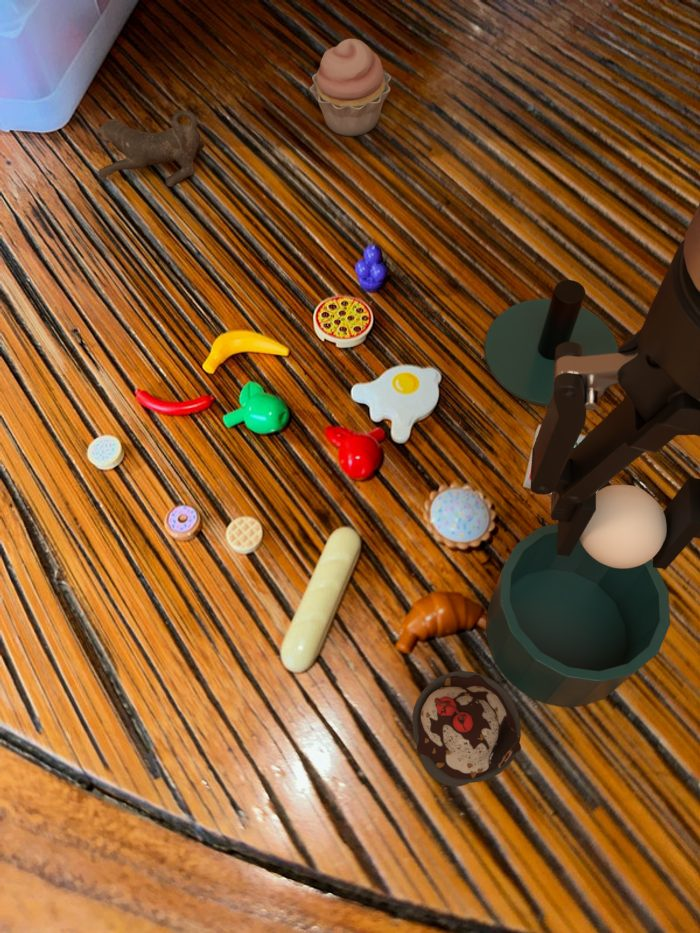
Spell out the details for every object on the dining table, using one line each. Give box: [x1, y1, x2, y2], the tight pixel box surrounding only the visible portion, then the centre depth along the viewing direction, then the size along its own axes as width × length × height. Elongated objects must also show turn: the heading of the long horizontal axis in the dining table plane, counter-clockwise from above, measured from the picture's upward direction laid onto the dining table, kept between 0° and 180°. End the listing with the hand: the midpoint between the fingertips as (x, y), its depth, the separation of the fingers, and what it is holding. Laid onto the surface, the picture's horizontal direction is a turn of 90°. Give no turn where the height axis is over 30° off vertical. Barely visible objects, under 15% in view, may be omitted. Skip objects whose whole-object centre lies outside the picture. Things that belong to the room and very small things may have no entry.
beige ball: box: [579, 484, 667, 569], centre depth 45 cm, size 5×5×5 cm
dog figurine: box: [97, 109, 206, 187], centre depth 84 cm, size 12×6×7 cm, turn 90°
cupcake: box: [309, 38, 392, 137], centre depth 86 cm, size 9×9×10 cm
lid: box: [483, 279, 619, 408], centre depth 69 cm, size 12×12×9 cm
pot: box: [485, 522, 671, 708], centre depth 56 cm, size 11×11×8 cm
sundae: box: [411, 670, 522, 787], centre depth 49 cm, size 7×7×15 cm
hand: (611, 541), depth 47 cm, fingers closed on beige ball, 5 cm apart
